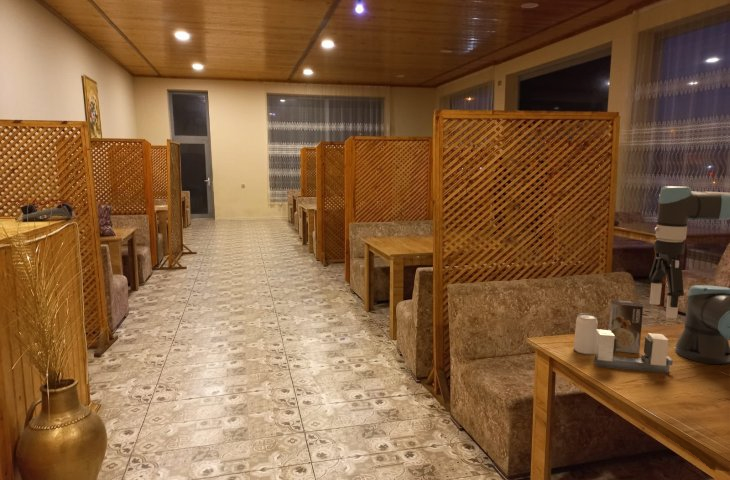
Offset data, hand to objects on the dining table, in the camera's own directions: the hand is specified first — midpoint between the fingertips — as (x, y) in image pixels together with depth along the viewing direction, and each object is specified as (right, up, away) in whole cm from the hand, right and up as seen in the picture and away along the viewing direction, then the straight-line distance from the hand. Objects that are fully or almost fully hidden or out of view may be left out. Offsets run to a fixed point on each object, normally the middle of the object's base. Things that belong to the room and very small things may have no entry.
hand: (662, 310), depth 149 cm
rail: (-7, -18, +4) cm, 20 cm away
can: (-16, -16, +17) cm, 28 cm away
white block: (-1, -16, +3) cm, 16 cm away
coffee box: (-2, -16, +20) cm, 25 cm away
